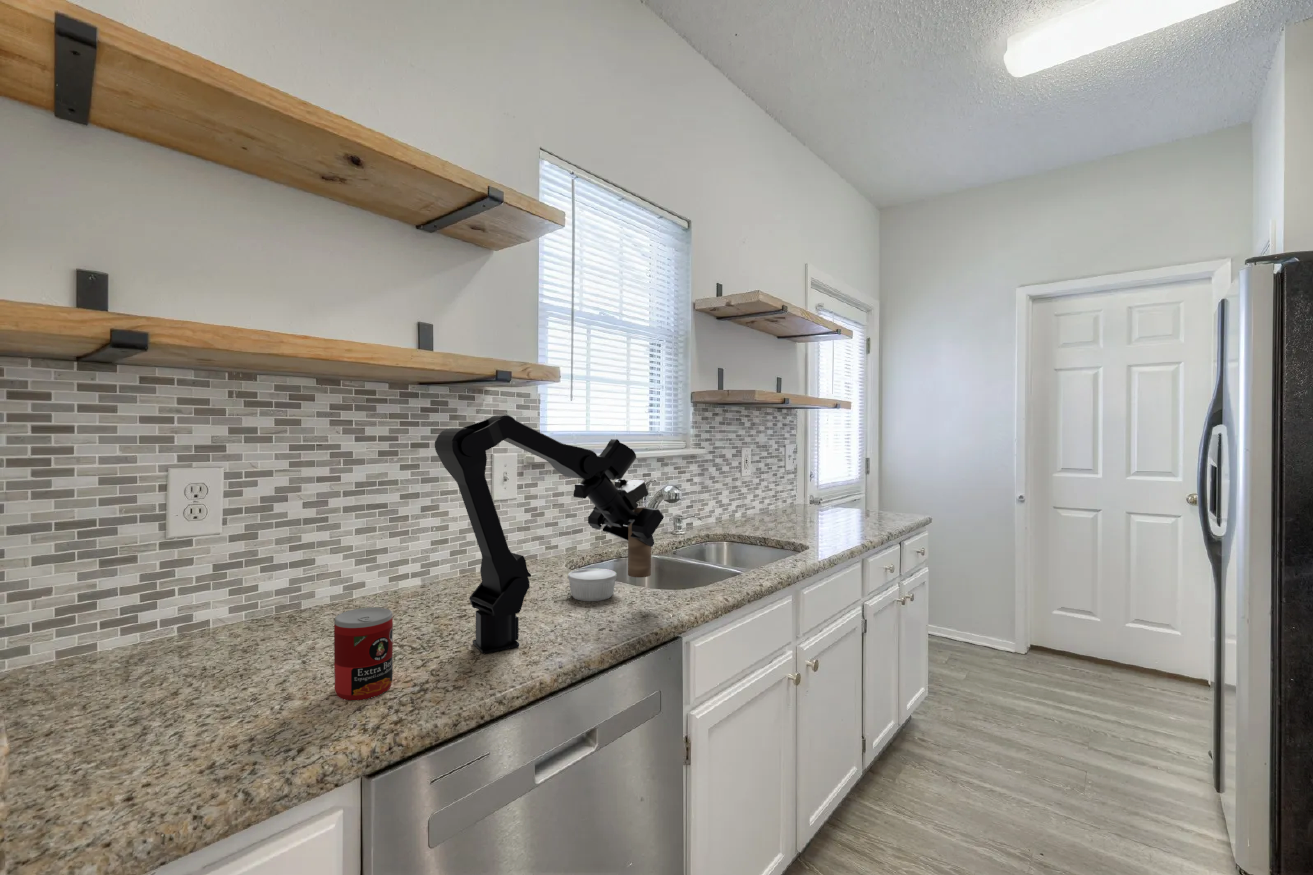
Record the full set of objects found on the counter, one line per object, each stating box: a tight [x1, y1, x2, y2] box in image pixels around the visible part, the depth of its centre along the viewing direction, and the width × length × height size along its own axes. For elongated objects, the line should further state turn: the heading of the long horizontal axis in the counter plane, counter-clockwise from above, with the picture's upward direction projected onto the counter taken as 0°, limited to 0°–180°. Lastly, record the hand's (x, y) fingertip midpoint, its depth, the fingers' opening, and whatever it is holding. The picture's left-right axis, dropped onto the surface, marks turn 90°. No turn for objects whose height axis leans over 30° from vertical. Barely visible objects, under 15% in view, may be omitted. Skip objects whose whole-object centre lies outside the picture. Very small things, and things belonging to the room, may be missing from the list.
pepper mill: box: [627, 505, 652, 578], centre depth 130 cm, size 5×5×15 cm
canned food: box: [333, 606, 394, 701], centre depth 88 cm, size 8×8×11 cm
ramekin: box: [567, 568, 618, 602], centre depth 138 cm, size 11×11×5 cm
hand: (644, 543), depth 131 cm, fingers closed on pepper mill, 5 cm apart
